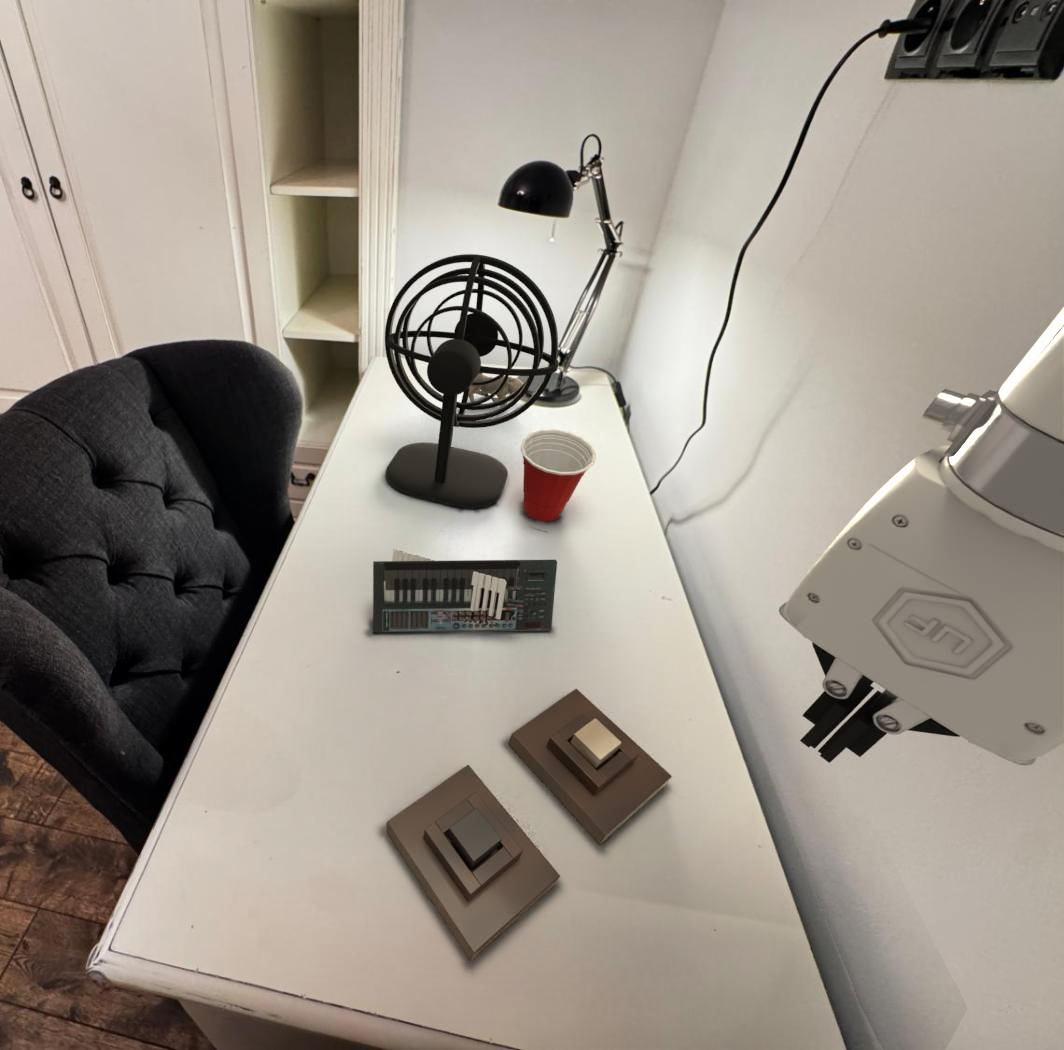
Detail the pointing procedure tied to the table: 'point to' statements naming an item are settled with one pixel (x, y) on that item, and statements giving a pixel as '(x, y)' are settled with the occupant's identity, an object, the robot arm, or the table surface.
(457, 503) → the desk fan
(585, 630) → the table surface
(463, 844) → the key ebony
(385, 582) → the synthesizer keyboard
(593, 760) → the key ivory
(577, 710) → the key block
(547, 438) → the plastic cup
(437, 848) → the key block
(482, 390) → the dog figurine
